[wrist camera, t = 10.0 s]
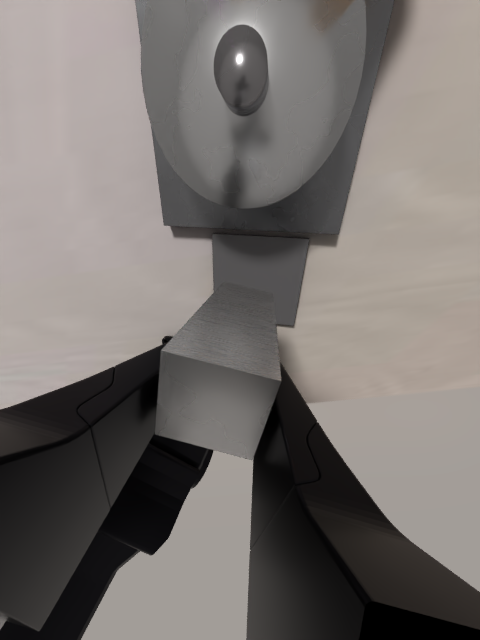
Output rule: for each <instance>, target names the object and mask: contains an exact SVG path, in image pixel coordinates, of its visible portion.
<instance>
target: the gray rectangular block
mask: <svg viewBox="0 0 480 640" xmlns="http://www.w3.org/2000/svg"><path fill="white" fill-rule="evenodd" d="M280 384H281V371H280V361H279V350H278V339H277V328H276V318H275V307H274V296H273V293H269V292H265V291H261V290H257V289H253V288H249V287H244V286H240V285H236V284H232V283H228V282H223V283H222V284H221V285H220V286H219V287H218V289H217V290H216V291H215V292H214V293H213V294H212V295H211V296H210V297H209V298H208V300H207V301H206V302H205V303H204V304H203V305H202V306H201V307H200V308H199V309H198V310H197V312H196V313H195V314H194V315H193V316H192V317H191V318H190V319H189V320H188V321H187V323H186V324H185V325H184V326H183V327H182V328H181V329H180V330H179V331H178V332H177V334H176V335H175V336H174V337H173V338H172V339H171V340H170V341H169V342H168V343H167V344H166V346H165V347H164V348H163V349H162V350H161V357H160V370H159V384H158V398H157V412H156V426H155V434H156V435H159V436H163V437H167V438H171V439H174V440H178V441H182V442H186V443H189V444H193V445H197V446H200V447H204V448H208V449H212V450H216V451H220V452H223V453H227V454H231V455H234V456H238V457H242V458H245V459H249V460H253V457H254V454H255V451H256V449H257V446H258V443H259V441H260V438H261V435H262V433H263V430H264V427H265V424H266V422H267V419H268V416H269V414H270V411H271V408H272V405H273V403H274V400H275V397H276V395H277V392H278V389H279V386H280Z"/></svg>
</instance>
